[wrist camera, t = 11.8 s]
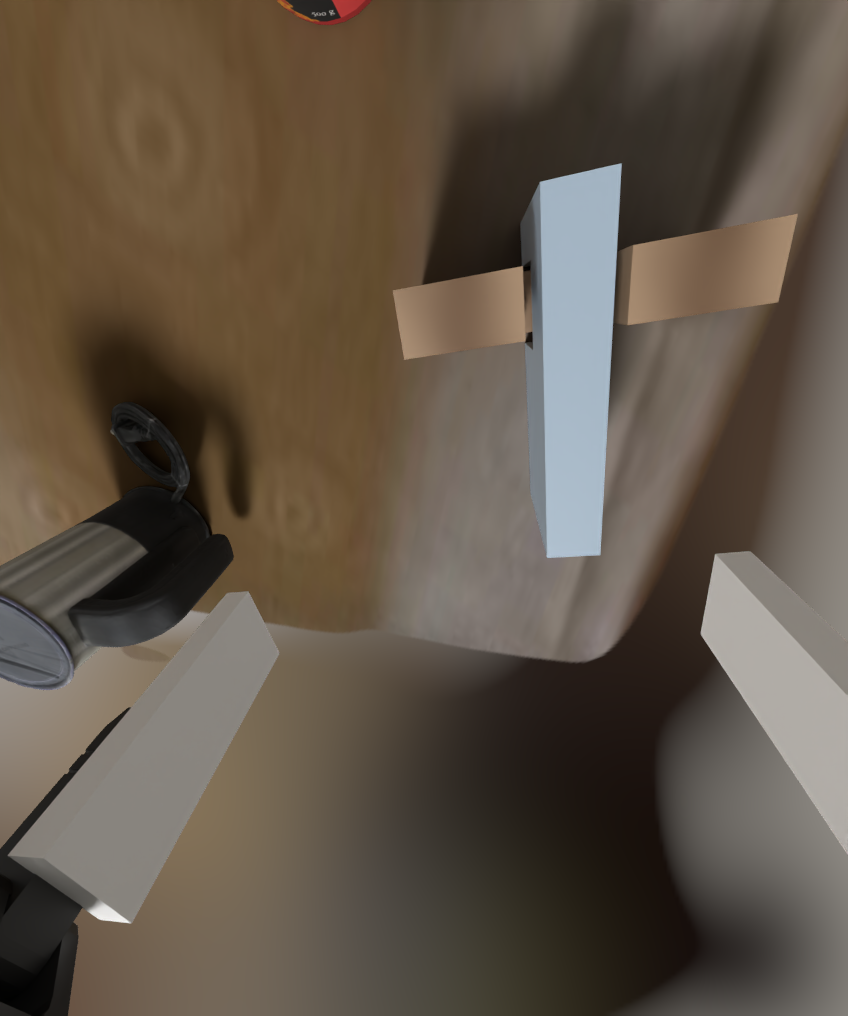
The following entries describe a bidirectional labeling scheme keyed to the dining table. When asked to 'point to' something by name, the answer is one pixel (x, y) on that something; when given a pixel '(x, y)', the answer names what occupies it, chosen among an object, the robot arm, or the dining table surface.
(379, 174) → the dining table surface
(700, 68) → the dining table surface
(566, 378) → the pale blue flat block
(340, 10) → the canned food
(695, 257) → the light brown wooden block
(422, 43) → the dining table surface
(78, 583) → the milk frother
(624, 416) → the dining table surface
